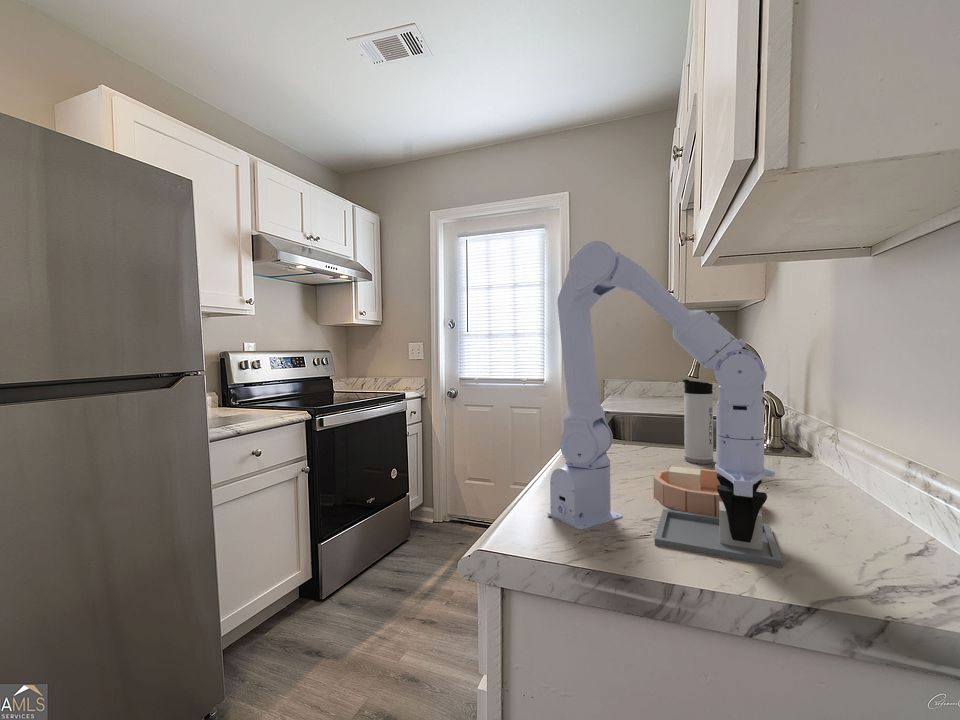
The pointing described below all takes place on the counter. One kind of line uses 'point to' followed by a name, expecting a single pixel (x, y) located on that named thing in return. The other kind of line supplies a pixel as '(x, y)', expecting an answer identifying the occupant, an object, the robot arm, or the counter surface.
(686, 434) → the travel mug
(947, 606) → the counter surface
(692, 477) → the cream block
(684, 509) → the bowl
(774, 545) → the tray
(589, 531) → the counter surface
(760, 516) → the pale grey cube
